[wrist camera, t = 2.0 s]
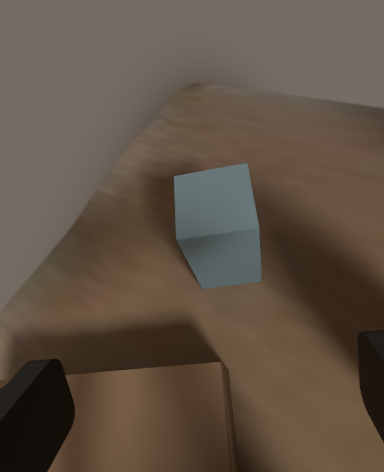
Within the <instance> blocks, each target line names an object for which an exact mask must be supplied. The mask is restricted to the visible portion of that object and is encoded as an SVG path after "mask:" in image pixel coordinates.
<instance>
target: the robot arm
mask: <svg viewBox="0 0 384 472" xmlns="http://www.w3.org/2000/svg"><path fill="white" fill-rule="evenodd" d="M358 357H359V379H360V390H361V395H362V398H363V402H364V405H365V407H366V410H367V412H368V414H369V416H370V418H371V420H372V422H373V423H374V425H375V427H376V429H377V431H378V433H379V435H380V437H381V438H382V440H383V442H384V330H377V331H366V332H360V333H359V334H358ZM74 417H75V404H74V401H73V397H72V394H71V391H70V388H69V385H68V382H67V379H66V376H65V373H64V370H63V367H62V364H61V362H60V361H59V360H57V359H48V360H37V361H29V362H27V363H26V364H25V365H24V366H23V367H22V368H21V369H20V370H19V371H18V372H17V374H16V375H15V376H14V377H13V378H12V379H11V380H10V381H9V382H8V383H7V384H6V385H5V386H3V387H2V388H0V472H48V470H49V468H50V466H51V465H52V463H53V461H54V459H55V457H56V455H57V454H58V452H59V450H60V448H61V446H62V444H63V443H64V441H65V439H66V437H67V435H68V433H69V432H70V430H71V428H72V425H73V422H74Z"/></svg>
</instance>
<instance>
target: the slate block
mask: <svg viewBox="0 0 384 472" xmlns="http://www.w3.org/2000/svg"><path fill="white" fill-rule="evenodd" d="M174 192H175V223H176V241H177V243H178V245H179V246H180V248H181V250H182V252H183V254H184V256H185V258H186V259H187V261H188V263H189V265H190V267H191V269H192V271H193V272H194V274H195V276H196V278H197V280H198V282H199V284H200V285H201V287H202V289H206V288H214V287H222V286H230V285H238V284H246V283H254V282H262V275H261V254H260V233H259V224H258V218H257V213H256V207H255V202H254V196H253V191H252V186H251V180H250V175H249V169H248V164H247V163H244V164H238V165H233V166H227V167H222V168H216V169H211V170H205V171H200V172H194V173H189V174H183V175H178V176H174Z"/></svg>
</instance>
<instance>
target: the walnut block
mask: <svg viewBox="0 0 384 472" xmlns="http://www.w3.org/2000/svg"><path fill="white" fill-rule="evenodd" d="M65 376H66V379H67V382H68V385H69V388H70V391H71V394H72V397H73V401H74V404H75V417H74V422H73V425H72V428H71V430H70V432H69V433H68V435H67V437H66V439H65V441H64V443H63V444H62V446H61V448H60V450H59V452H58V454H57V455H56V457H55V459H54V461H53V463H52V465H51V466H50V468H49V470H48V472H239V470H238V460H237V450H236V440H235V430H234V421H233V411H232V401H231V391H230V381H229V371H228V369H227V368H226V367H225V366H224V365H223V364H222V363H221V362H212V363H200V364H189V365H177V366H165V367H154V368H142V369H130V370H119V371H107V372H95V373H84V374H72V375H65ZM9 381H10V380H2V381H0V388H2V387H3V386H5V385H6V384H7V383H8V382H9Z"/></svg>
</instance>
